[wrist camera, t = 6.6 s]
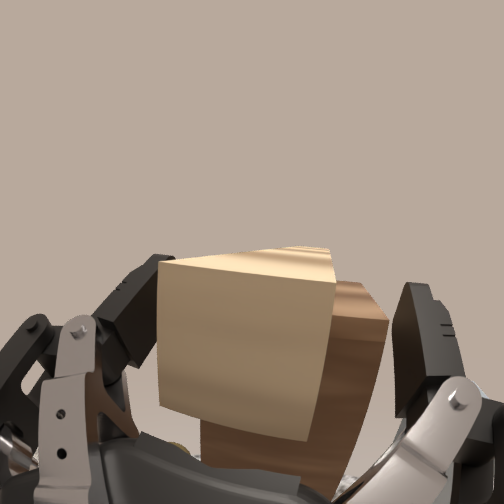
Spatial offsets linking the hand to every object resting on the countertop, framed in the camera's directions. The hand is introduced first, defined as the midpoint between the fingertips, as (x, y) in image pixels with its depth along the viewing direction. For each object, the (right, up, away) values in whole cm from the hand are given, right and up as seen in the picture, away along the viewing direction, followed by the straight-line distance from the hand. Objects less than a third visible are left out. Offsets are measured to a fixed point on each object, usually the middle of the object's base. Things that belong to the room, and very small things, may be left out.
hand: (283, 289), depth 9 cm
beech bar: (+2, -2, +7) cm, 7 cm away
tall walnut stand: (0, -33, +13) cm, 36 cm away
